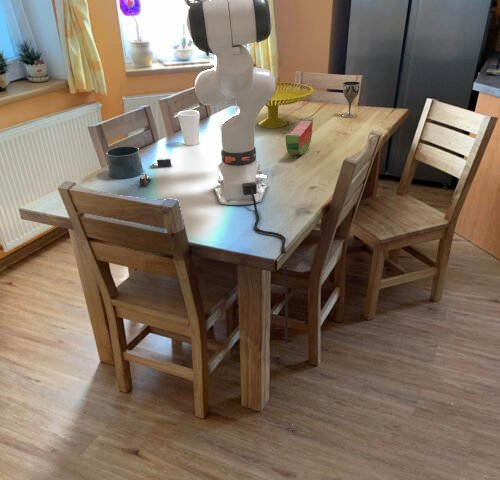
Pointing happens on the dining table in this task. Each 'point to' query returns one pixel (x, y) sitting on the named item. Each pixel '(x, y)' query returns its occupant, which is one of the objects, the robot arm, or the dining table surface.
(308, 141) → the fruit slice
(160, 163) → the two-tone pronged bar
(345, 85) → the wine glass
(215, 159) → the dining table surface
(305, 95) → the cake stand
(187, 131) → the foam cup
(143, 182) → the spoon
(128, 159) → the blue-grey round hollow container
